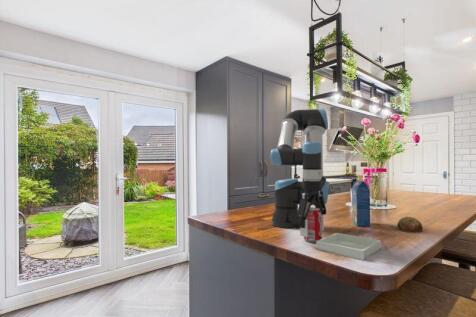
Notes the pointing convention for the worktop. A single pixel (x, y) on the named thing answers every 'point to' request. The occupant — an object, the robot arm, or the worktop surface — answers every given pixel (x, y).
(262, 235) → the worktop surface
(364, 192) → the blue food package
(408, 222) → the bread roll
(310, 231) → the soda can
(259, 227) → the worktop surface
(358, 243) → the tray
